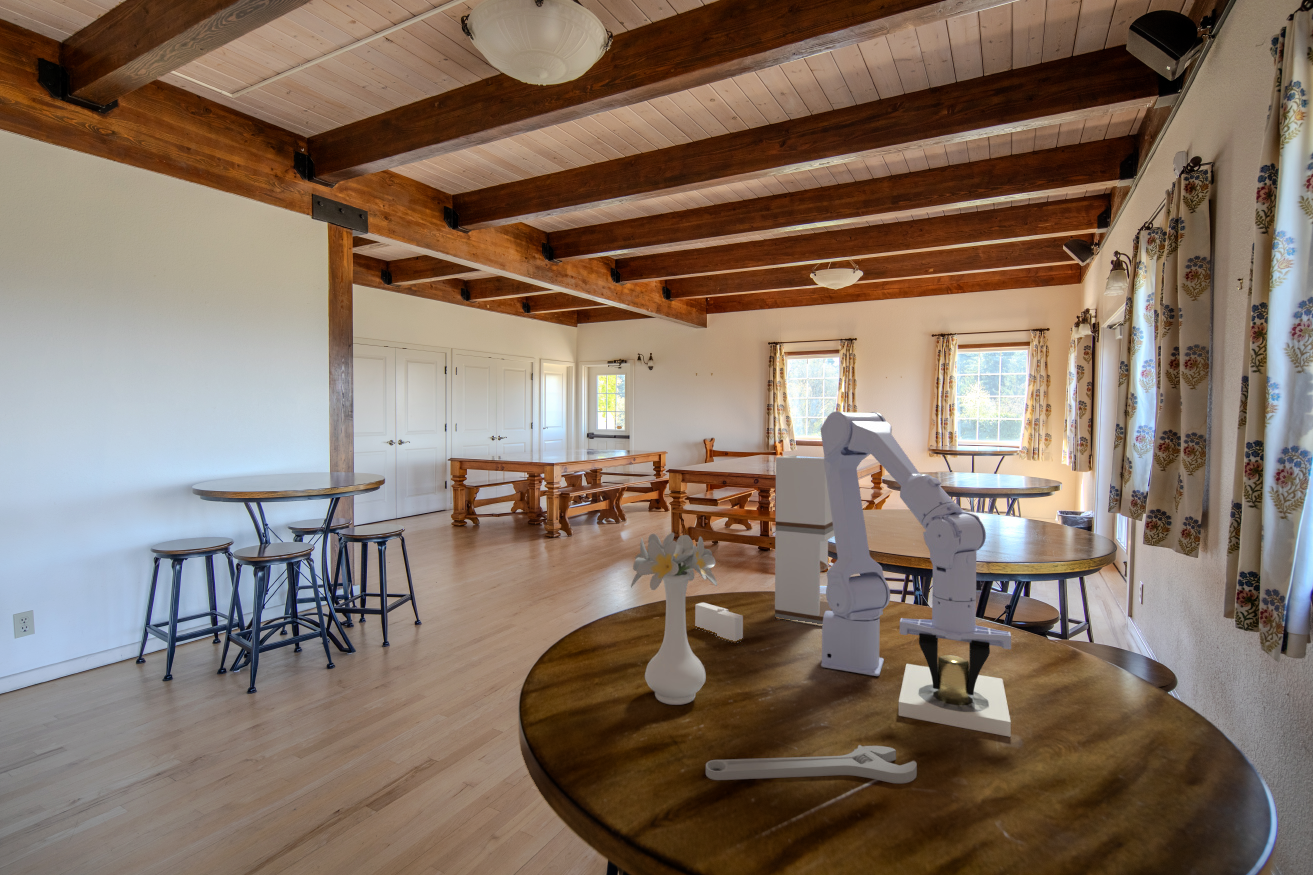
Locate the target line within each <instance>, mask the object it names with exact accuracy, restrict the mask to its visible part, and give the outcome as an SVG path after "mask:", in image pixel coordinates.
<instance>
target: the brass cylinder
mask: <svg viewBox="0 0 1313 875" xmlns="http://www.w3.org/2000/svg"><path fill="white" fill-rule="evenodd" d="M968 681H969V660H967V659H966V658H962V657H960V656H958V657H957V655H953V656H950V654H946V655H945V654H944V655H940V656H938V700H939V701H942V702H944V703H947V704H952V705H958V706H960V705H968Z"/></svg>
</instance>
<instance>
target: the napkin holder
mask: <svg viewBox="0 0 1313 875" xmlns="http://www.w3.org/2000/svg"><path fill="white" fill-rule="evenodd" d="M694 605H695V610H694V611H695V613H694V614H695V616H694V618H695V619H694V620H695V623H694V624H695V625H694V626H697V627H700V628H704V629H706V630H710V631H712V632H715V633H717V636H720V637H723V638H726V639H729V640H733V641H737V640H739V639H742V638H743V639H744V635H743V633H744V622H743V621H744V615H742V614H738V613H734V612H732V611H729V609H728V608H724V607H720V606H718V605H713V604H710V603H707V602H699V603H696V604H694ZM717 636H716V637H717Z"/></svg>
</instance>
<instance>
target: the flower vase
mask: <svg viewBox="0 0 1313 875" xmlns="http://www.w3.org/2000/svg"><path fill="white" fill-rule="evenodd" d="M674 537H675V533H674V532H671V533H669V534H667V535H666V536H665V538H663V541H661V539H660V537H659V536H658V534H656V533H651V534H650V535H648V539H647V541H648V542H647V544H648V545H647V549H646V545H645V543H644V539H643V538H640V544H639V551H640V552H639V553H638V554H637V555H635V557H634V559H635V560H634V563H633V566H632V569H633V571H635V572H636V574H635V575H634V578H633V579H632V582H631V585H630V588H633V587H634V585H635V584H636V583H637V582H638V580H639V579H640V578H641V577H643V576H647V575H648V576H649V575H651V578H650V581H649V587H650V590H651V591H655V590H656V589H658V587H659V586H660V584H661V583H662V581H663V584H664V585H663V586H664V592H665V623H664V624H665V627H664V636H663V640H662V643H661V646H660V648H659V650H658V652H656V653H655V655H653V657H652V658H651V659H650V660H649V662H648V663H647V666H646V669H645V673H644V679H645V681H646V684H647V685H648V687H649V688H650V689H651V691H653V692H654V696H655V699H656V700H658V701H659V702H660V703H663V704H666V705H671V706H672V705H673V706H674V705H675V706H679V705H685V704H689V703H691V702H693V701H694V700H695V698H696V693H698V692H699V691H700V690H701V689H702V687H703V685H705V683H706V679H707V678H706V676H707V674H706V669H705V666H704V665H703V663H702V661H701V660H700V658H699V657H698V656H696V655H695V653H694V652H693V650H692V648H691V646H690V643H689V641H688V640H689V639H688V634H687V621H686V596H687V595H686V594H687V589H688V583H689V581H690V582H691V581H693V580H694V579H695V572H694V571H696V572H697V573H698V574H699V576H701V578H702V579H703V580H704V581H706V580H708V581H709V582H710V583H712V584H713V585H714V586H716V587H717V586H718V581H717V579H716V576H715V575H714V574H713V571H712V569H711V568H713V567H714V566H716V564H717V562H716V559H715V557H714V555H713V552H712V550H710V549H708V548H705V544H704V539H703V537H702V536H699V537H698V541H697V544H696V545H695V544H694V541H693V540H692V538H691V537H690V535H688V534H684V535H683V534H682V535H680V536H679V537H678V538H677V540H674Z"/></svg>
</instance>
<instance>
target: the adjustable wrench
mask: <svg viewBox="0 0 1313 875" xmlns="http://www.w3.org/2000/svg"><path fill="white" fill-rule="evenodd" d="M896 760H897V750H896V749H895V748H893V747H890V746H883V745H864V746H862V745H861V744H859V745H858V746H857V748H854V749H853V750H852V751H851V752H849V753H847V754H843V755H831V756H830V755H829V756H828V755H827V756H798V757H797V756H795V757H767V758H737V759H736V758H735V759H733V758H732V759H713V760H712V759H711V760H709V761H707V762H706V763H705V775H706V777H707V778H708V779H710V780H713V781H727V780H728V781H730V780H733V781H734V780H749V779H750V780H753V779H756V780H757V779H775V778H776V779H777V778H780V779H781V778H802V777H803V778H804V777H823V776H825V777H829V776H856V777H862V778H867V779H873V780H876V781H877V780H878V781H882V782H887V783H891V784H907V783H911V782H912V781H914V780H915V779H916V778H917V776H918V775H917V773H918V771H917V770H918V767H917V766H918V765H917V763H918V762H916V761H915V760H912V761H910V762H907V763H904V764H900V765H899V764H896V763H892V762H893V761H896Z"/></svg>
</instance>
